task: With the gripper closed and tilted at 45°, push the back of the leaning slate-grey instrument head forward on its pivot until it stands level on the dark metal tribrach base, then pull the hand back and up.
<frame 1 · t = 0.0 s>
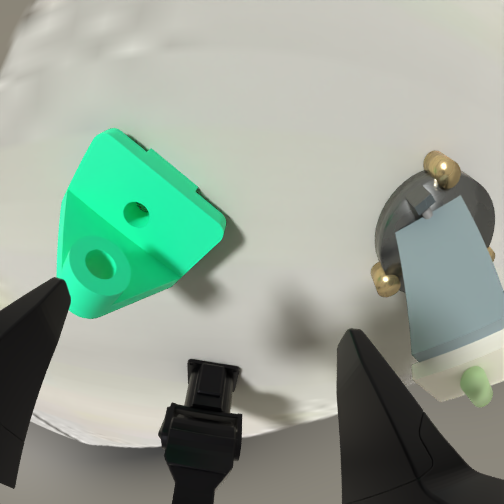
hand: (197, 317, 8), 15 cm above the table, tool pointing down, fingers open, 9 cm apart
camera mount: (149, 198, 23), on the table
instrument head: (484, 304, 15), point 9 cm above the table, hinge at -14.0°
tribrach base: (434, 230, 22), on the table
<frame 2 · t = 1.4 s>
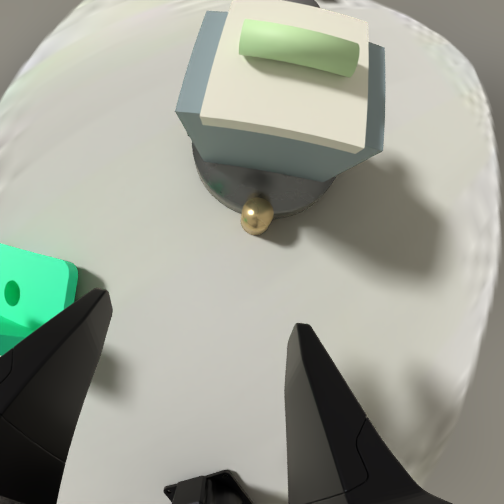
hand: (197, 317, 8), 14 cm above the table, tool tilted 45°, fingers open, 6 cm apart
camera mount: (30, 294, 21), on the table
instrument head: (284, 78, 15), point 9 cm above the table, hinge at -14.0°
tribrach base: (266, 150, 24), on the table
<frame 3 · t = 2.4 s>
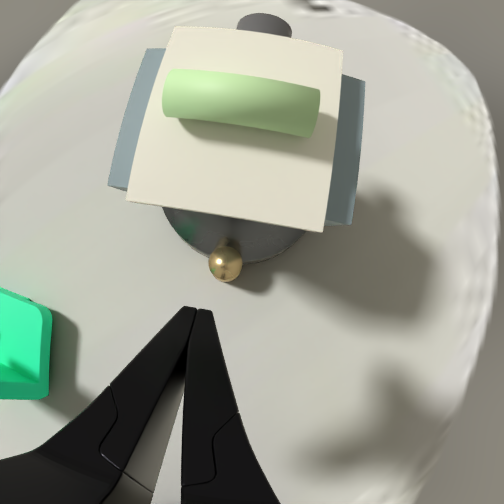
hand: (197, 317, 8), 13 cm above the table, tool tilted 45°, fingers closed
camera mount: (11, 331, 19), on the table
instrument head: (246, 119, 13), point 9 cm above the table, hinge at -14.0°
tribrach base: (240, 187, 23), on the table
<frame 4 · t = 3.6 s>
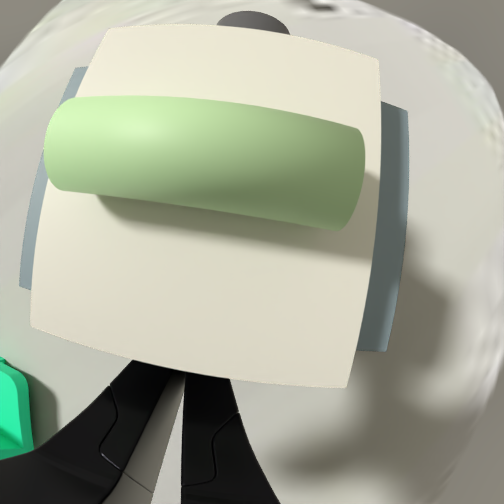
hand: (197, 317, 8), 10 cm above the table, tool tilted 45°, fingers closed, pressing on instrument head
instrument head: (226, 168, 10), point 9 cm above the table, hinge at -8.1°, touching gripper
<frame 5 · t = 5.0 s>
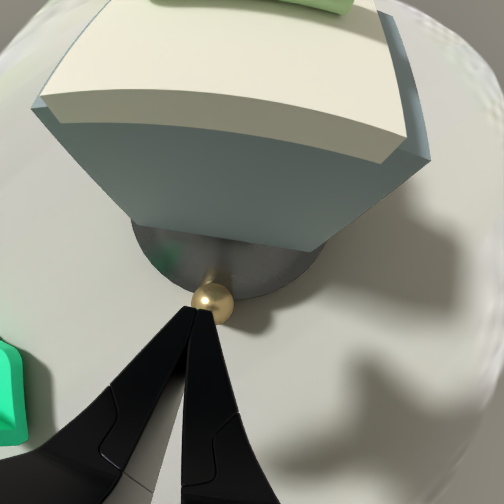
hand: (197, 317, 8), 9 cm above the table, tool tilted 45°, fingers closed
instrument head: (242, 81, 10), point 9 cm above the table, hinge at 3.0°
tribrach base: (231, 201, 18), on the table
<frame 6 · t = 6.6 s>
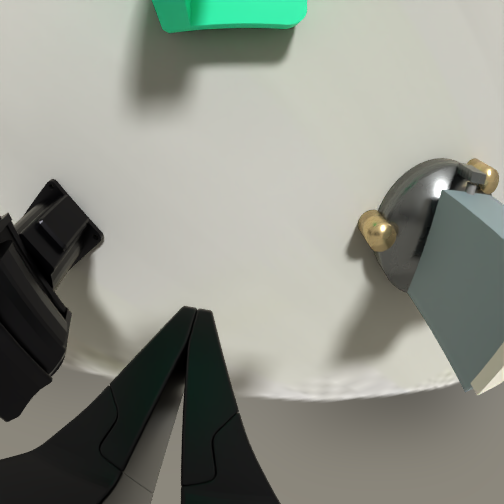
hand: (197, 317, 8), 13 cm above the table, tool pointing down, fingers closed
tribrach base: (433, 224, 22), on the table
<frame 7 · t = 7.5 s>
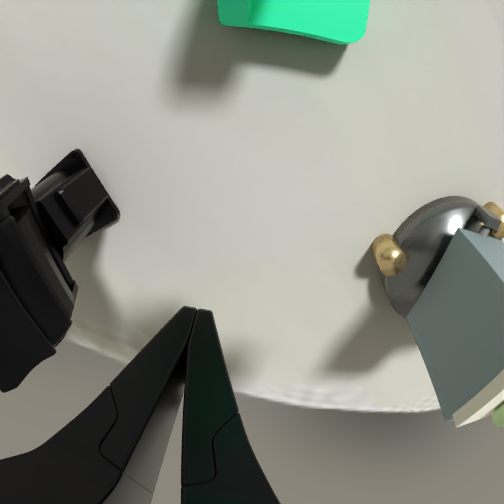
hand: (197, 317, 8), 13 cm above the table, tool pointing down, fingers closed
instrument head: (500, 335, 15), point 9 cm above the table, hinge at 3.0°
tribrach base: (441, 257, 22), on the table
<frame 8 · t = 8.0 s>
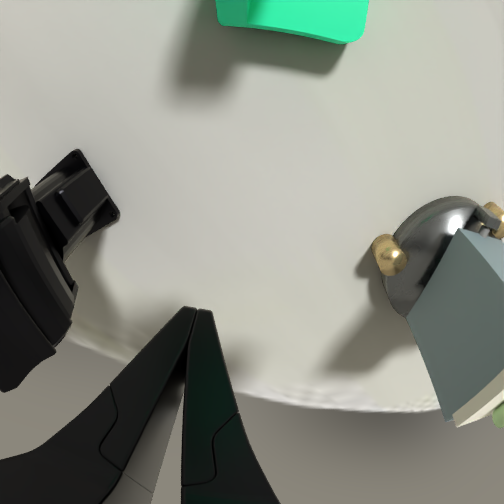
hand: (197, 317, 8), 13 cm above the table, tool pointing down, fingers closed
instrument head: (500, 335, 15), point 9 cm above the table, hinge at 3.0°
tribrach base: (441, 257, 22), on the table
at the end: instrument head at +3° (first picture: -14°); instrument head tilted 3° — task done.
